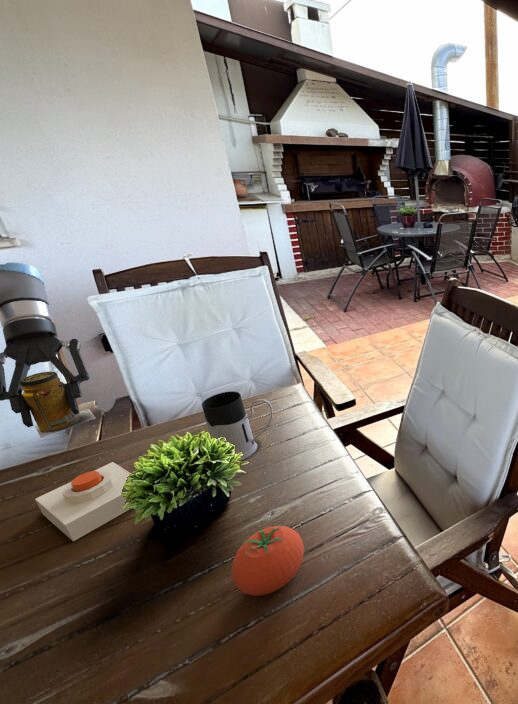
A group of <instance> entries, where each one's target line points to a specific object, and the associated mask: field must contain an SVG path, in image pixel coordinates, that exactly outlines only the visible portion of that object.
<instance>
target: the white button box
mask: <svg viewBox="0 0 518 704" xmlns="http://www.w3.org/2000/svg"><path fill="white" fill-rule="evenodd" d="M94 471H98V472H99V473H100V475H101V478H102V481H101V482H100V483H99V484H98V485H96V486H94V487H92V488H90V489H88V490H85V491H81V492H75V491H74V489H73V487H72V485H71V482H72V481H70V482H67V483H65V484H63V485H60V486H59V487H57V488H55V489H53V490H50V491H49V492H46V493H45V494H42V495H40V496H38V497H36V498H34V501H35V503H36V504H37V507H38V508H39V510H40V512H41V514H42V515H43V517H45V518H46V519H47V520H48V521H50V522H51V524H53V525H54V526H55V527H56V528H57V529H59V530H60V532H62V533H63V534H64V535H65V536H66V537H67V538H68V539H69V540H71V541H72V542H76V541H77V540H78V539H80V538H82V537H84V536H86V535H87V534H89V533H91V532H92V531H94V530H96V529H98V528H100V527H101V526H104V525H105V524H107V523H108V522H110V521H112V520H113V519H115V518H117V517H119V516H120V515H123V514H124V513H126V512H128V511H130V509H123V505H124V504H125V502H126V498H125V497H123V496H122V495H121V492H122V489H123V486H124V484H125V482H126V480H127V477H128V476H129V475H130V474H132V473H131V472H129V471H128V470H126V469H125V468H123V467H122V466H120V465H118V464H117V463H115V462H113V461H111V462H110V463H107V464H105V465H103V466H101V467H99V468H97V469H95V470H94Z"/></svg>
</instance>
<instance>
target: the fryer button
mask: <svg viewBox="0 0 518 704" xmlns="http://www.w3.org/2000/svg"><path fill="white" fill-rule="evenodd" d="M101 481H102V478H101V475H100V473H99V472H98V471H95V470H92V471H87V472H84V473H82V474H80V475H78V476H76V477H74V479H73V480H72V481H70V482H71V485H72V487H73V489H74V491H75V492H81V491H85V490H88V489H90V488H92V487H94V486H96V485H98V484H99V483H100V482H101Z"/></svg>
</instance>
